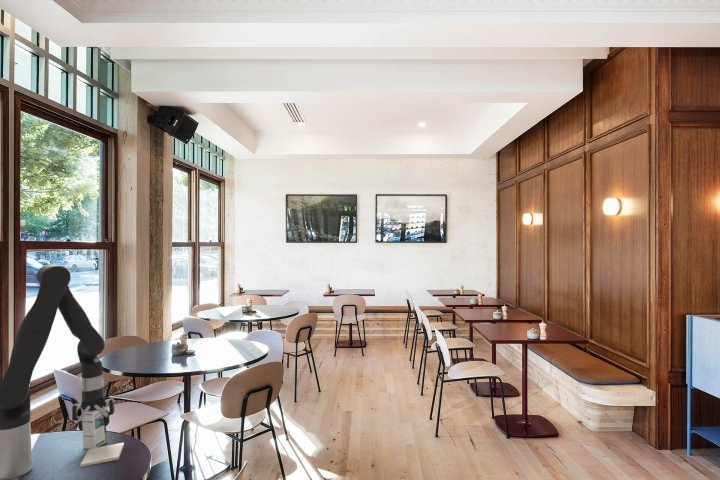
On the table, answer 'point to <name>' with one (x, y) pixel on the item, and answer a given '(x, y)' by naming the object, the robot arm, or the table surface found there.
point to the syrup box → (93, 429)
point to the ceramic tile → (102, 454)
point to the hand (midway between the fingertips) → (94, 427)
